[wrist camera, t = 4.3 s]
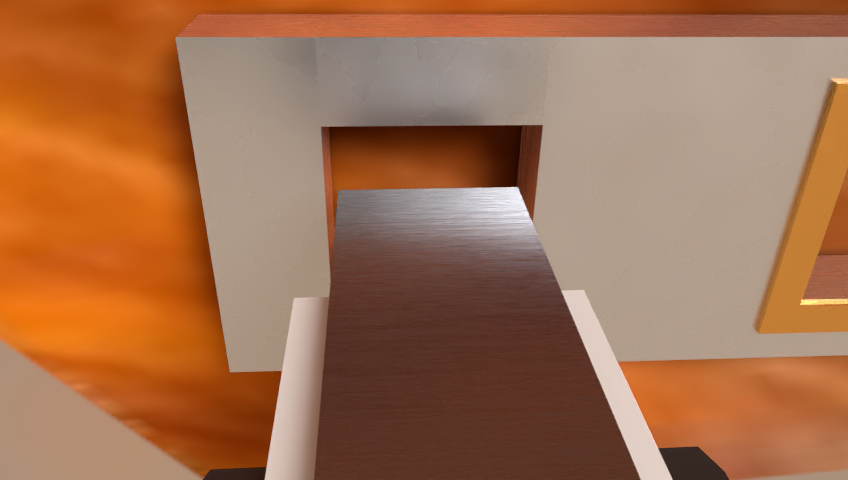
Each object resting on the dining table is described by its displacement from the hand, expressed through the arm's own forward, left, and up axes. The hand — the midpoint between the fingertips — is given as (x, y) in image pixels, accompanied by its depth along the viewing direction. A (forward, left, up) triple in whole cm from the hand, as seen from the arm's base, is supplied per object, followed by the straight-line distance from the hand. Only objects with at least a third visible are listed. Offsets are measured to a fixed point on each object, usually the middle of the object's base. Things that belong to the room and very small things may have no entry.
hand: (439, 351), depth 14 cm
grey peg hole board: (0, +7, -8) cm, 11 cm away
